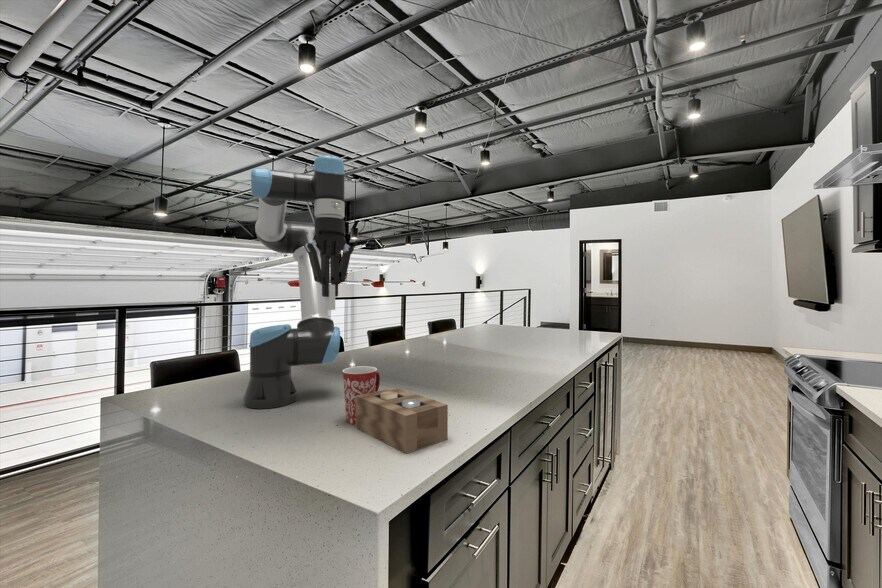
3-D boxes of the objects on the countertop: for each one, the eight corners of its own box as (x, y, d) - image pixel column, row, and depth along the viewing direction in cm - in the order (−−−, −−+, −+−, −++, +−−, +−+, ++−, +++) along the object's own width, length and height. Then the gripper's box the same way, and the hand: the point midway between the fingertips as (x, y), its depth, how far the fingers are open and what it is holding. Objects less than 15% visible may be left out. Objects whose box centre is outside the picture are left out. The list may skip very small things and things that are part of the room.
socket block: (355, 427, 98) (355, 395, 98) (395, 416, 106) (394, 387, 106) (405, 453, 82) (405, 415, 82) (447, 438, 90) (447, 404, 90)
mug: (362, 428, 97) (362, 374, 97) (335, 422, 102) (334, 370, 101) (392, 414, 108) (391, 365, 108) (366, 409, 113) (366, 362, 113)
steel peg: (398, 433, 91) (398, 401, 91) (412, 428, 94) (412, 397, 94) (409, 438, 88) (409, 405, 88) (423, 433, 91) (423, 401, 90)
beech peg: (377, 423, 98) (377, 393, 97) (391, 419, 100) (391, 390, 100) (386, 427, 94) (386, 396, 94) (400, 423, 97) (400, 393, 97)
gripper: (311, 213, 94) (312, 311, 94) (359, 219, 102) (359, 309, 103) (299, 217, 99) (299, 310, 99) (345, 223, 108) (345, 308, 108)
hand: (330, 309), depth 101 cm, fingers closed
